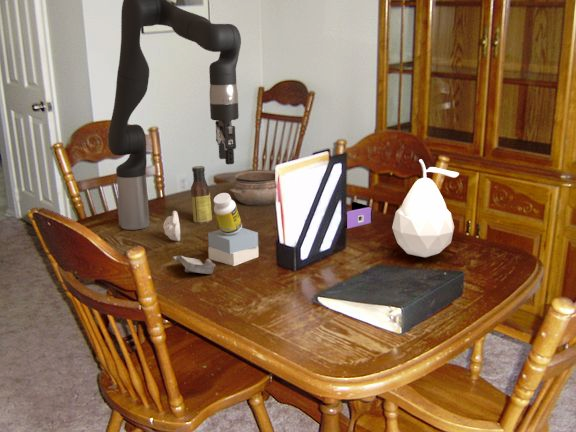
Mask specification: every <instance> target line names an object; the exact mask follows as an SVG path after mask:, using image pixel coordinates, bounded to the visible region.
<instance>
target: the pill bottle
mask: <svg viewBox="0 0 576 432" xmlns="http://www.w3.org/2000/svg"><path fill="white" fill-rule="evenodd" d="M213 203H214V205H213V212H214V214H215V217H216V220H217V223H218V226H219V230H221V232H222V233H224V234H226V235H232V234H235V233H237V232H238V231H240V229H241V228H243V223H242V221H241V220H242V219H241V217H240V214H239V211H238V208H237V204H236V202H235V200H233V199H232V197H231V195H230V194H229V193H227V192H221V193H218V194H217V195H215V197H214V198H213Z"/></svg>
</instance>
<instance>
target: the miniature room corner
mask: <svg viewBox="0 0 576 432" xmlns="http://www.w3.org/2000/svg"><path fill="white" fill-rule="evenodd" d="M346 214H347V228H346V229H352V228H355V227H361V226H364V225H368V224H372V222H373V207H372V206H370V205H366V204H363V203H359V202H358V201H357V202H356V201H351V210H348V211H346Z"/></svg>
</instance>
